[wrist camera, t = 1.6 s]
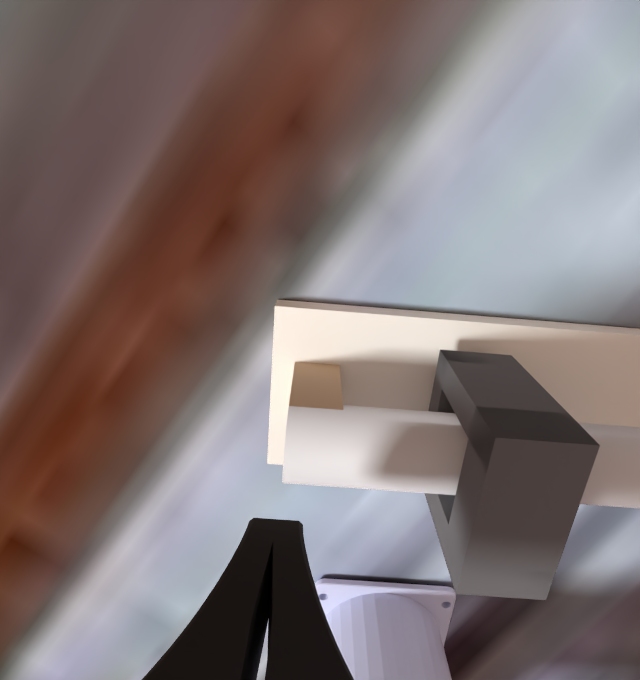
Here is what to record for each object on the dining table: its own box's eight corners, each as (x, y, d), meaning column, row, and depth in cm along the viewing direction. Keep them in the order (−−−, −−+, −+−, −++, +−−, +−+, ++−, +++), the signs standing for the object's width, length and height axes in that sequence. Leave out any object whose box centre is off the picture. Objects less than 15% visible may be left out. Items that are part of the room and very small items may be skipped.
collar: (481, 474, 21) (546, 600, 15) (417, 469, 21) (455, 594, 15) (511, 355, 19) (600, 445, 13) (439, 349, 19) (495, 437, 13)
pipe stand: (825, 491, 24) (996, 603, 18) (269, 451, 23) (250, 553, 17) (907, 350, 21) (1144, 425, 15) (277, 299, 21) (257, 357, 14)
